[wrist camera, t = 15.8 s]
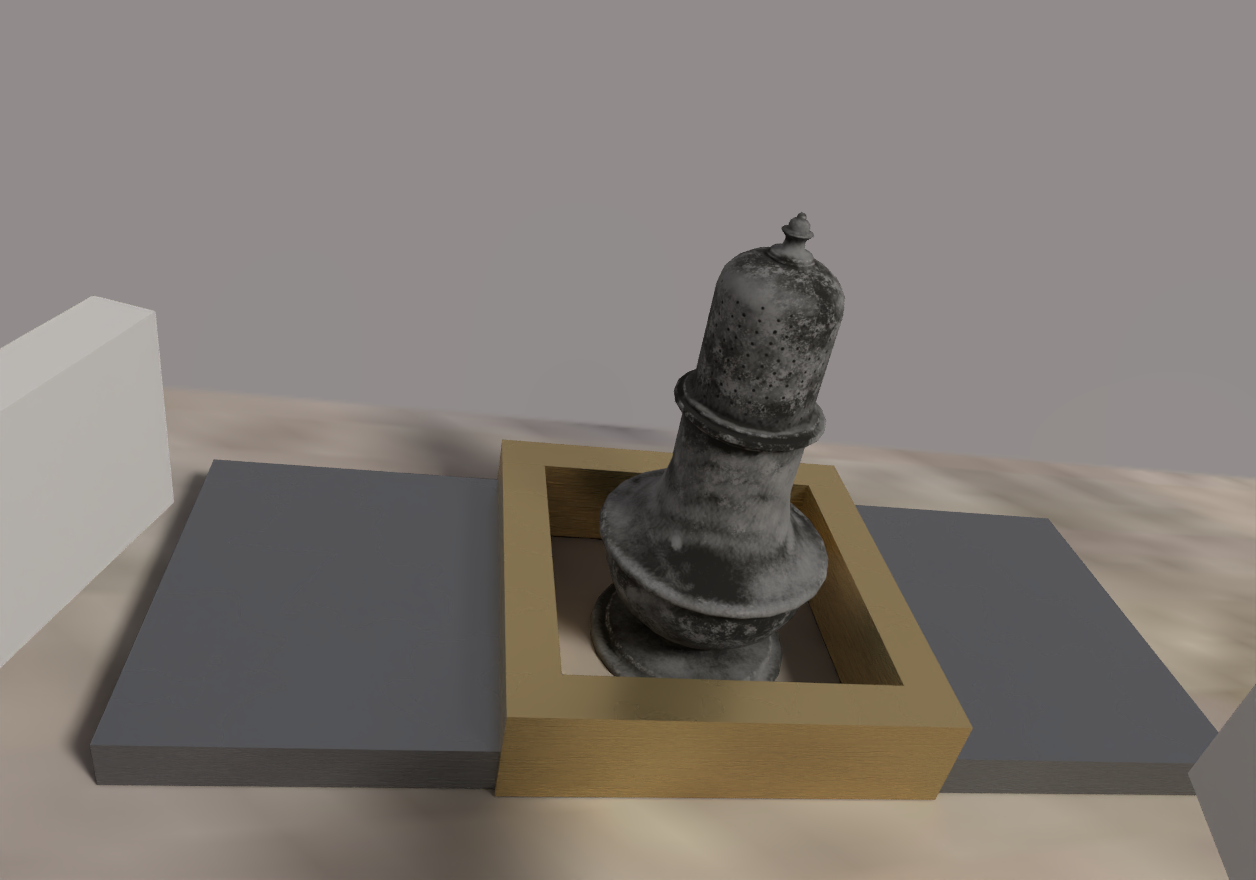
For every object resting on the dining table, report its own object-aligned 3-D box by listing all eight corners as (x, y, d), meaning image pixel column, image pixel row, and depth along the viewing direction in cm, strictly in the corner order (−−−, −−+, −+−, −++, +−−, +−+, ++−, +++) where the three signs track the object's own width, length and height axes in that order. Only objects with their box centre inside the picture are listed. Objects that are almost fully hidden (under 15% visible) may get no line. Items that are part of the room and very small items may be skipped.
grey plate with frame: (93, 793, 19) (77, 706, 18) (217, 489, 28) (212, 416, 26) (1224, 801, 24) (1276, 735, 23) (1031, 542, 33) (1060, 483, 32)
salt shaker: (728, 554, 29) (839, 171, 23) (833, 696, 25) (1005, 270, 19) (549, 580, 27) (619, 160, 21) (630, 742, 23) (749, 271, 16)
